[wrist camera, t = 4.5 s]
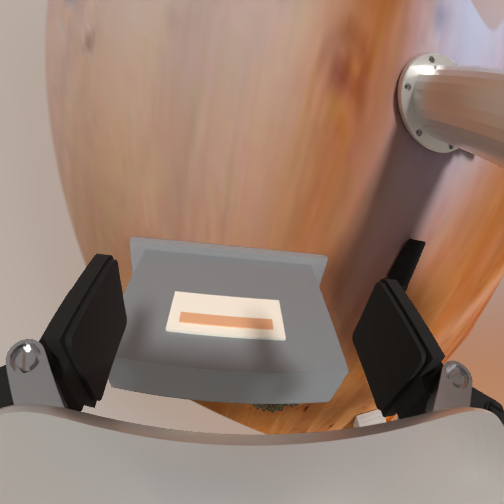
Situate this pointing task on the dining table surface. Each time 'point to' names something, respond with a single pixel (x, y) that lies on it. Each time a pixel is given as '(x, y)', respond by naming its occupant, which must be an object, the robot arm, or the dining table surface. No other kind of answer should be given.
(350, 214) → the dining table surface
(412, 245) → the electric trimmer
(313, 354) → the grey sign holder
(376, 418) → the supplement box
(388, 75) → the dining table surface
